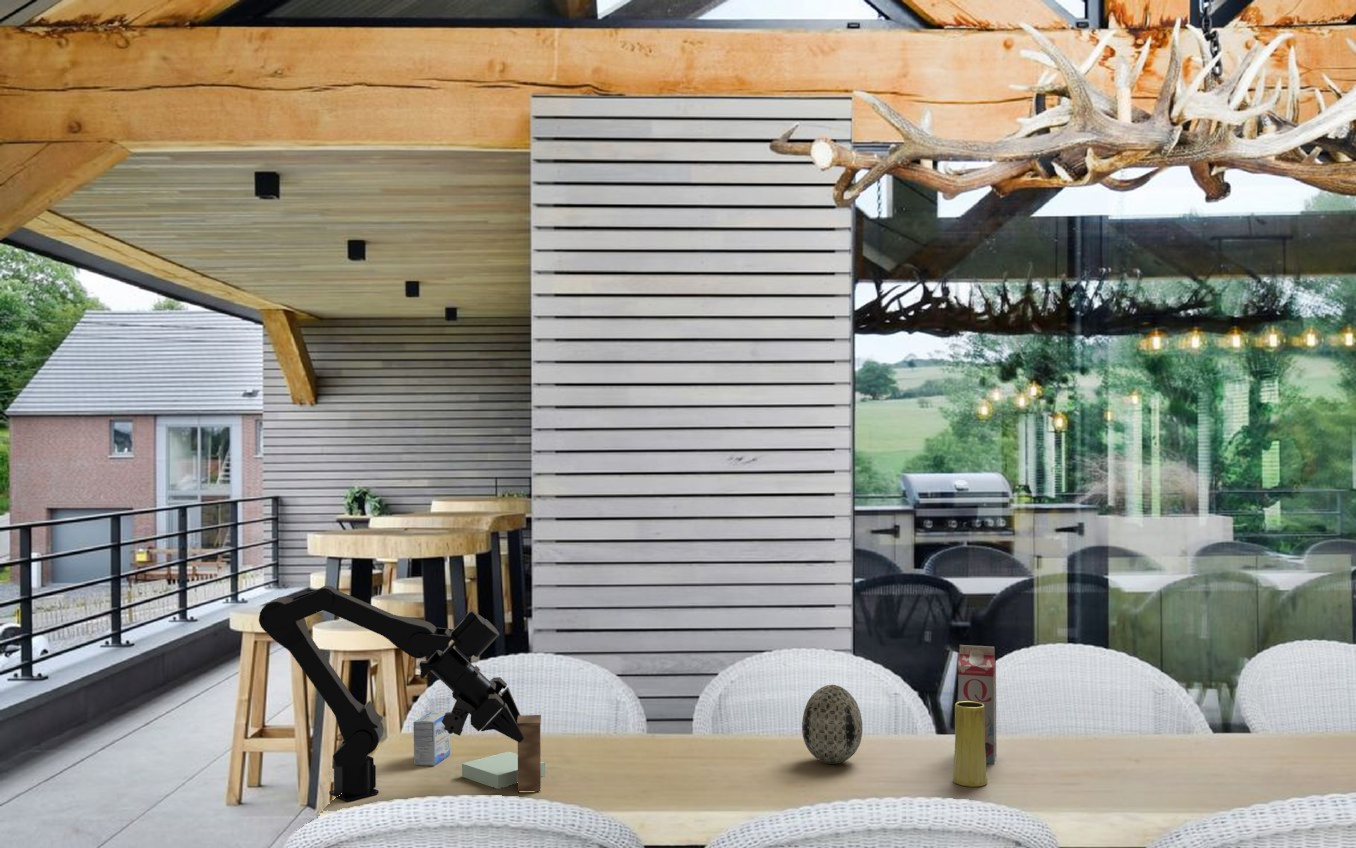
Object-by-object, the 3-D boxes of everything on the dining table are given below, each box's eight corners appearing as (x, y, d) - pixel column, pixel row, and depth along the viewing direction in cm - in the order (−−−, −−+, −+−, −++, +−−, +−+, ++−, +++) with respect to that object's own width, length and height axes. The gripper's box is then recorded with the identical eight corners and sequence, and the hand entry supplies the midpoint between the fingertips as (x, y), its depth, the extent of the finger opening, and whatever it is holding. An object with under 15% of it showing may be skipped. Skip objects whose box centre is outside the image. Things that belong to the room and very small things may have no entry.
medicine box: (434, 766, 227) (434, 722, 227) (413, 765, 228) (413, 721, 228) (450, 755, 235) (450, 712, 235) (429, 754, 235) (429, 711, 235)
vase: (962, 775, 219) (961, 699, 219) (993, 781, 215) (992, 703, 215) (947, 783, 214) (946, 705, 214) (978, 789, 210) (978, 710, 210)
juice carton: (994, 764, 226) (993, 649, 226) (958, 761, 228) (958, 648, 228) (996, 754, 232) (995, 643, 232) (962, 752, 234) (961, 642, 234)
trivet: (497, 789, 212) (497, 775, 212) (462, 776, 220) (462, 763, 220) (545, 775, 220) (544, 762, 220) (508, 764, 228) (508, 751, 228)
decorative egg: (790, 759, 230) (790, 683, 230) (839, 751, 235) (839, 676, 235) (824, 774, 220) (824, 694, 220) (875, 766, 225) (874, 688, 225)
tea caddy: (517, 793, 210) (516, 723, 210) (518, 783, 216) (518, 715, 216) (540, 792, 210) (540, 722, 210) (541, 782, 216) (540, 714, 216)
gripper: (433, 697, 220) (494, 753, 222) (423, 721, 202) (488, 782, 203) (475, 653, 221) (535, 709, 223) (468, 673, 203) (533, 734, 204)
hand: (522, 734), depth 213 cm, fingers open, 9 cm apart
